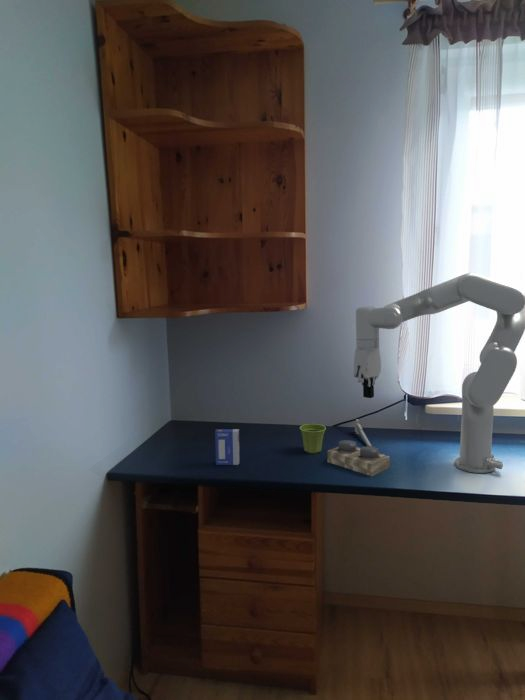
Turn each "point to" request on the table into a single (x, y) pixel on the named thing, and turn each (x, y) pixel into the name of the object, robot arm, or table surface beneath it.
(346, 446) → the knob far
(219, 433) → the blue upright box
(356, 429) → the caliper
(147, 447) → the table surface
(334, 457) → the mount
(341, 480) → the table surface
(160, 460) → the table surface
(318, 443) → the plant pot
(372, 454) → the knob near
